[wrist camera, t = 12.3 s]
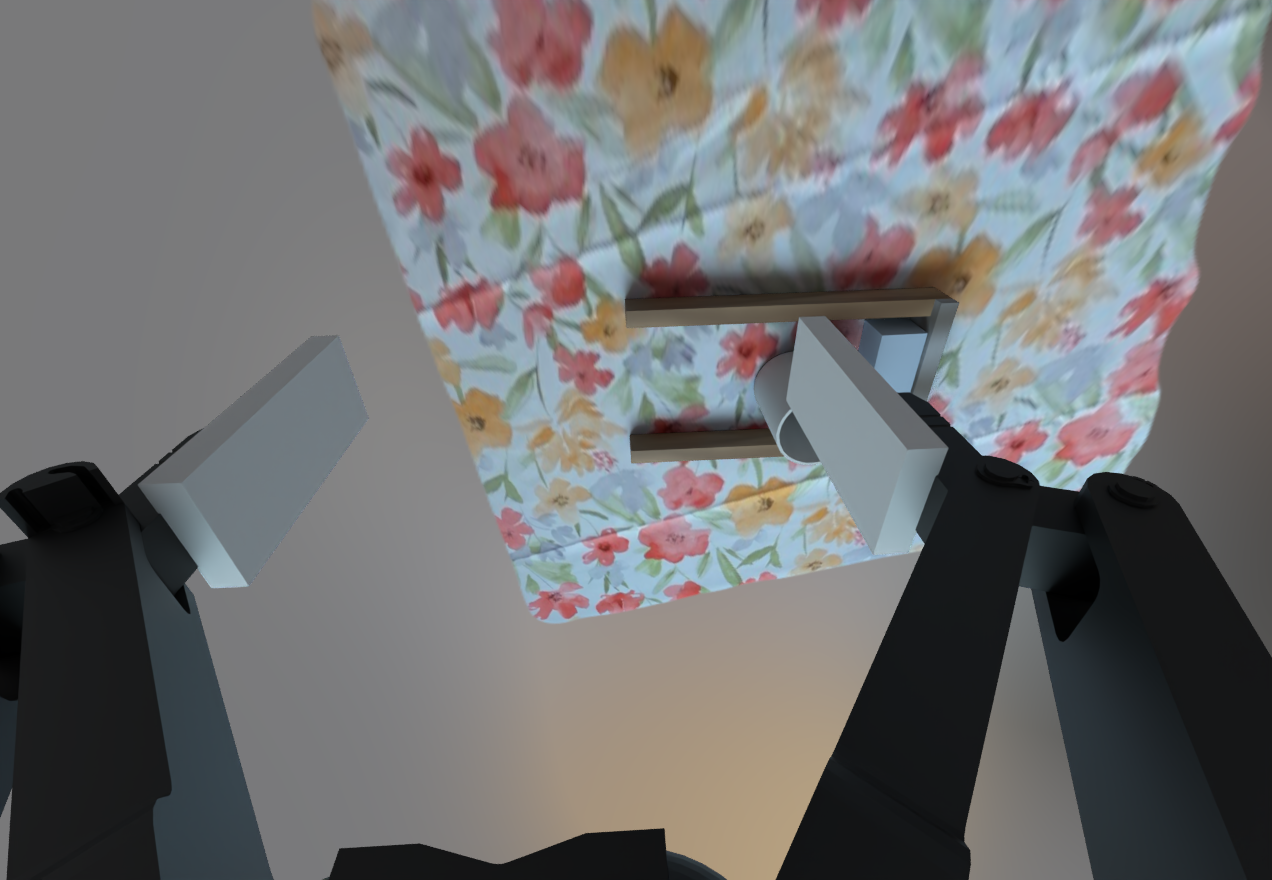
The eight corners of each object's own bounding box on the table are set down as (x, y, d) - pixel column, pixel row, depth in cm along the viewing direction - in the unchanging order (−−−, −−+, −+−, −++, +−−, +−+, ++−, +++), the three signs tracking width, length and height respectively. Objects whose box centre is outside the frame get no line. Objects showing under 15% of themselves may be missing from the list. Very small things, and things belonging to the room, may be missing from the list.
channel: (625, 299, 47) (626, 315, 44) (934, 287, 47) (959, 302, 44) (630, 446, 56) (631, 469, 53) (890, 434, 56) (908, 456, 53)
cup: (743, 409, 54) (765, 460, 46) (773, 316, 48) (803, 358, 41) (810, 417, 55) (842, 469, 47) (846, 327, 49) (888, 369, 42)
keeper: (882, 335, 46) (927, 333, 46) (863, 318, 49) (906, 316, 49) (856, 439, 52) (896, 437, 52) (842, 418, 55) (879, 416, 55)
